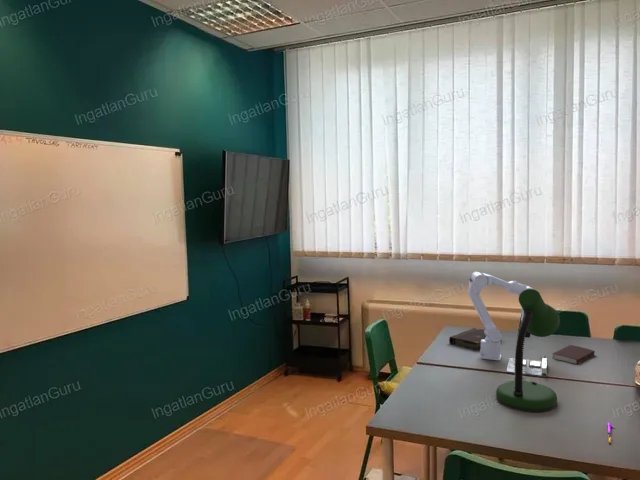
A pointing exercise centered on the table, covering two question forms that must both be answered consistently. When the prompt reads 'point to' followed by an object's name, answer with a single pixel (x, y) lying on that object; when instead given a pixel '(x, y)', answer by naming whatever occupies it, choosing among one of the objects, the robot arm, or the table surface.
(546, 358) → the cable arm
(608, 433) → the purple handled tool
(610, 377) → the table surface
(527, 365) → the server tray
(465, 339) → the diary
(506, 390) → the desk lamp
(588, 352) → the book
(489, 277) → the robot arm
